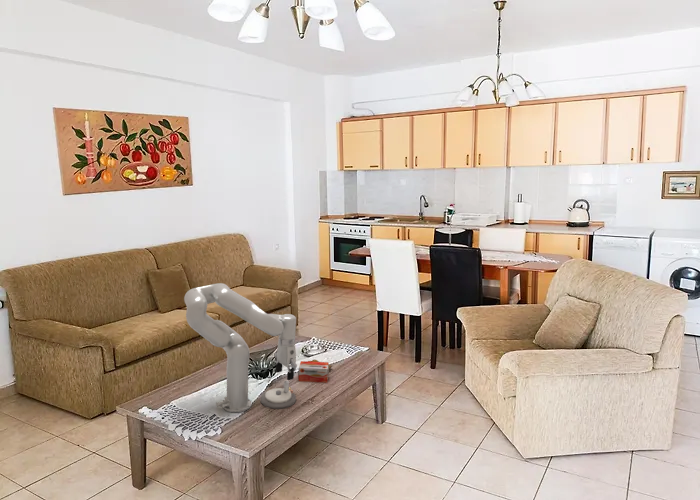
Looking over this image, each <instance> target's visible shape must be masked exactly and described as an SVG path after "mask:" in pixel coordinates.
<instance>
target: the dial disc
mask: <svg viewBox="0 0 700 500" xmlns="http://www.w3.org/2000/svg"><path fill="white" fill-rule="evenodd" d="M289 387H290V380H284V381H283V388H281V387H278V388H271V389H269V390H267V391H266V394H265V398H266V400H267V401H269V402H272V403H284V402H287V401H289V400H290V399H291V393H294V390H293V389H291V390H289Z"/></svg>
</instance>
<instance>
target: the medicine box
mask: <svg viewBox="0 0 700 500" xmlns="http://www.w3.org/2000/svg"><path fill="white" fill-rule="evenodd" d="M309 361H310V360H307V361H305V360H303V361H300V363H299V366H298V374H297V379H298V380H297V382H303V383H323V384H327V383H328V382H329V381H328V380H329V373H330V370H329V365H330V364H329V362H327V361H319V362H309Z"/></svg>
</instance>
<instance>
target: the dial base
mask: <svg viewBox="0 0 700 500" xmlns="http://www.w3.org/2000/svg"><path fill="white" fill-rule="evenodd" d="M289 390H292V387H290V386H289ZM266 392H267V391H266ZM266 392H263V393H262V395H261V396H260V404H261V405H262V406H263V407H265V408H268V409H273V410H281V409H282V410H283V409H288V408H289V407H292V406H294V405H295V404H296V401H297V396H296V394H295V393H294V392H293V393H291V399H290V400H289V401H287V402H284V403H272V402H269V401H267V400H266V398H265V394H266Z"/></svg>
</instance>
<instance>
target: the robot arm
mask: <svg viewBox="0 0 700 500" xmlns="http://www.w3.org/2000/svg"><path fill="white" fill-rule="evenodd" d="M183 301H184V304H185V305H186V313H185V317H186V318H185V319H186V322H187V324H188V325H189V327H190V328H191V329H193V330H194V331H195V332H196V333H198V334H199V335H200V336H201V337H203V338H204V339H205V340H207V342H209V343H210V344H211V345H212V346H214V347H216V348H221V349H223V350H224V352H225V353H226V356H227V357H226V358H227V361H226V396H225V397H224V399H222V401H218V402H216V403H215V404H216V407H221V408H222V409H224V410H225V411H227V412H229V413H243V412H246V411H249V410H250V408H251V407H252V405H253V404H252V401H251V399H249V362H250V355H251V354H250V353H251V352H250V348H249V345H248V344H247V342H246V341H245V339H244V338H243V336H241V334H239V333H238V332H237V331H236V330H234V329H233V328H231V327H230V326H229V325H227V324H226V323H225V322H224V321H222V320H219V319H214V318H213V317H211V316H210V315H209V314H208V313H207V310H208V305H209V304H213V303H215V304H216V305H217V306H219V307H220V308H223V310H224V309H225V310H226V311H228V312H230V313H232V314H233V315H235V316H237V317H239V318H241V319H242V320H244V321H245V322H247V323H248V324H250V325H252V326H253V327H255V328H256V329H259V330H260V331H262V332H264V333H266V334H267V335H269V336H271V337H278V342H277V349H276V352H275V353H274V357H275V358H274V359H275V373H281V372H283V367H284V366H285V367H286V368H287V376H286V381H292V380H294V376H295V371H296V370H297V367H298V364H297V362H296V361H297V359H296V358H297V352H296V350H297V349H296V344H295V342H296V329H297V317H296V316H295V315H294V314H291V313H285V314H276V313H267V312H265V311H264V310H263V309H261V308H260V307H259V306H258V305H257V304H255V302H253V301H252V300H250V299H249V298H247V297H244V296H243V295H241V294H239V293H238V292H237V291H234V290H233V289H231V287H229V286H228V285H227V284H226V283H223V282H222V283H221V282H219V283H212V284H209V285H207V284H206V285H203V286H199V287H198V286H197V287H193V288H191V289H188V290H187V292H186V293H185V295H184V297H183Z"/></svg>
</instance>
